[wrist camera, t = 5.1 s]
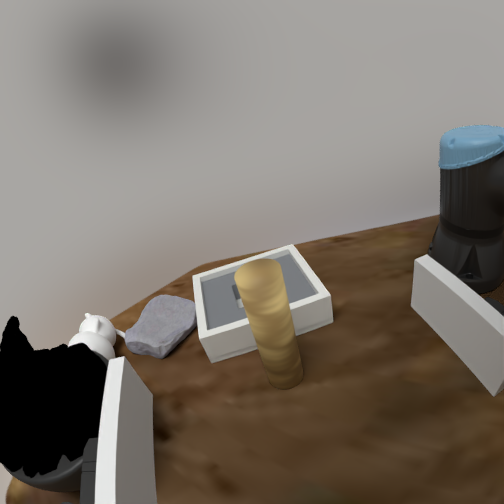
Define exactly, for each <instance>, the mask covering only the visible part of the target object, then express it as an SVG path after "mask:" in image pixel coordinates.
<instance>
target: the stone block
mask: <svg viewBox="0 0 504 504" xmlns="http://www.w3.org/2000/svg"><path fill="white" fill-rule="evenodd" d="M196 326H197V315H196V306H195V303H194V302H192V301H190V300H188V299H184V298H180V297H177V296H170V295H160V296H158V297H155V298H153V299H152V300H150V301H149V303H148V304H147V305H146V307H145V308H144V310H143V311H142V313H141V316H140V318H139V320H138V322H137V323H136V324H135V325H134V326H133V327H132V328H130V329H128V330H127V331H126V333H125V342H126V345H127V348H128V349H129V350H130V351H131V352H133V353H135V354H140V355H152V356H154V357H156V358H160V359H163V358H164V357H165V356H167V355H168V354H169V352H170V351H172V350H173V349H174V348H175V347H176V346H177V344H179V343H180V342H181V341H182V340H184V339H185V338H186V336H187V335H188V334H190V332H191V331H192V330H193V329H194V328H195V327H196Z"/></svg>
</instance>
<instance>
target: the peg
mask: <svg viewBox="0 0 504 504" xmlns="http://www.w3.org/2000/svg"><path fill="white" fill-rule="evenodd" d="M234 279H235V282H236V285H237V288H238V291H239V294H240V297H241V300H242V303H243V306H244V309H245V312H246V315H247V318H248V321H249V324H250V327H251V330H252V333H253V336H254V339H255V341H256V344H257V347H258V350H259V353H260V356H261V359H262V362H263V365H264V368H265V370H266V373H267V376H268V379H269V382H270V384H271V385H272V386H273V387H275V388H277V389H282V390H285V389H290V388H293V387H295V386H297V385H298V384H299V383H300V382H301V380H302V379H303V375H304V373H303V367H302V363H301V358H300V353H299V348H298V343H297V338H296V334H295V329H294V324H293V320H292V315H291V310H290V306H289V301H288V296H287V292H286V287H285V283H284V278H283V274H282V269H281V265H280V264H279V262H277V261H276V260H273V259H267V258H263V259H256V260H252V261H250V262H247V263H245V264H244V265H242V266H241V267H240V268H238V270H237V271H236V272H235V275H234Z"/></svg>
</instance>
